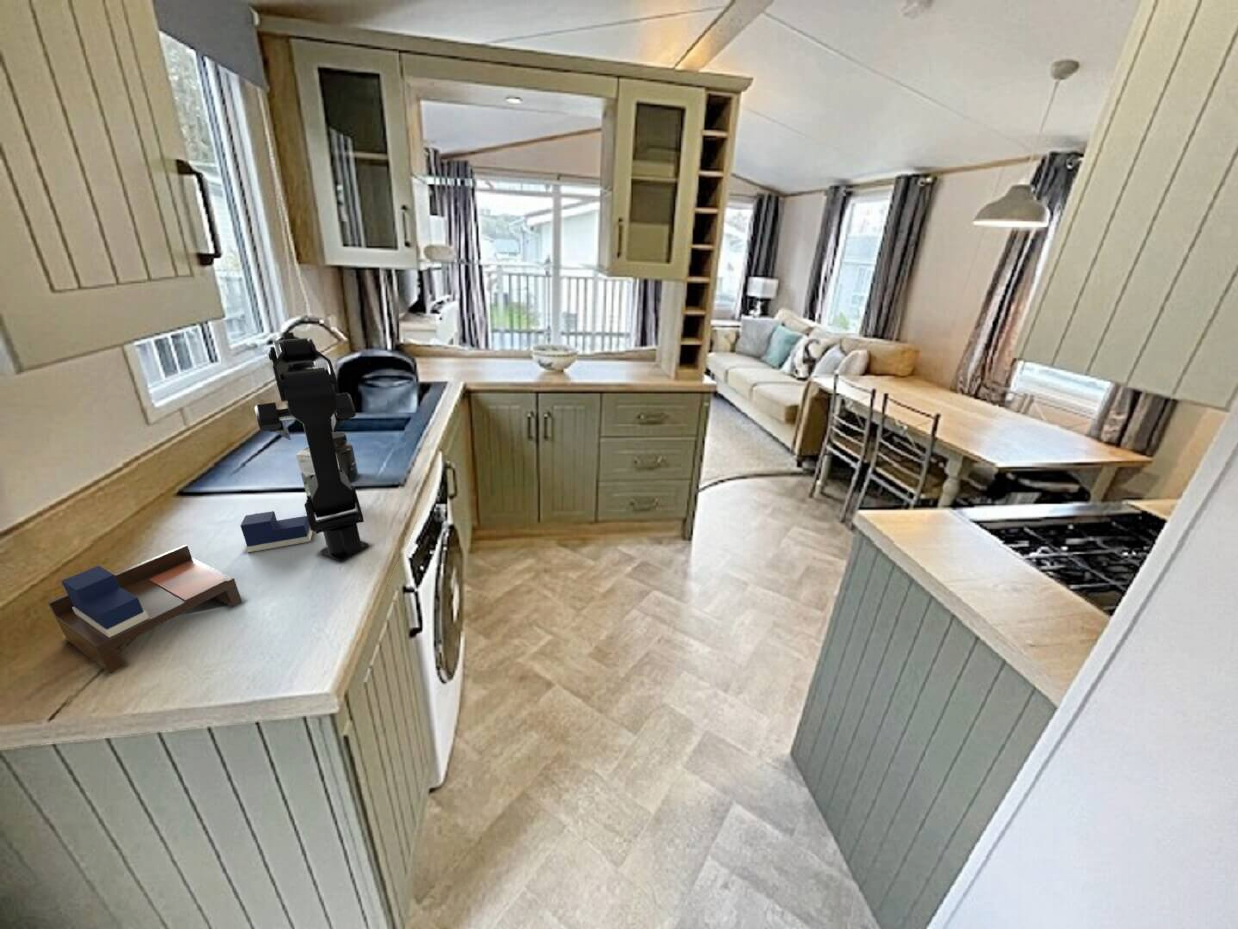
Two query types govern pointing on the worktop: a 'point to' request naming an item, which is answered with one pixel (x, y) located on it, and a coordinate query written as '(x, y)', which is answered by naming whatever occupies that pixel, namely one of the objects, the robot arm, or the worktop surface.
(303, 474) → the syrup box
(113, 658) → the shoe rack
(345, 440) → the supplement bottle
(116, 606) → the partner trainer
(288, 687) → the worktop surface
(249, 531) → the trainer
